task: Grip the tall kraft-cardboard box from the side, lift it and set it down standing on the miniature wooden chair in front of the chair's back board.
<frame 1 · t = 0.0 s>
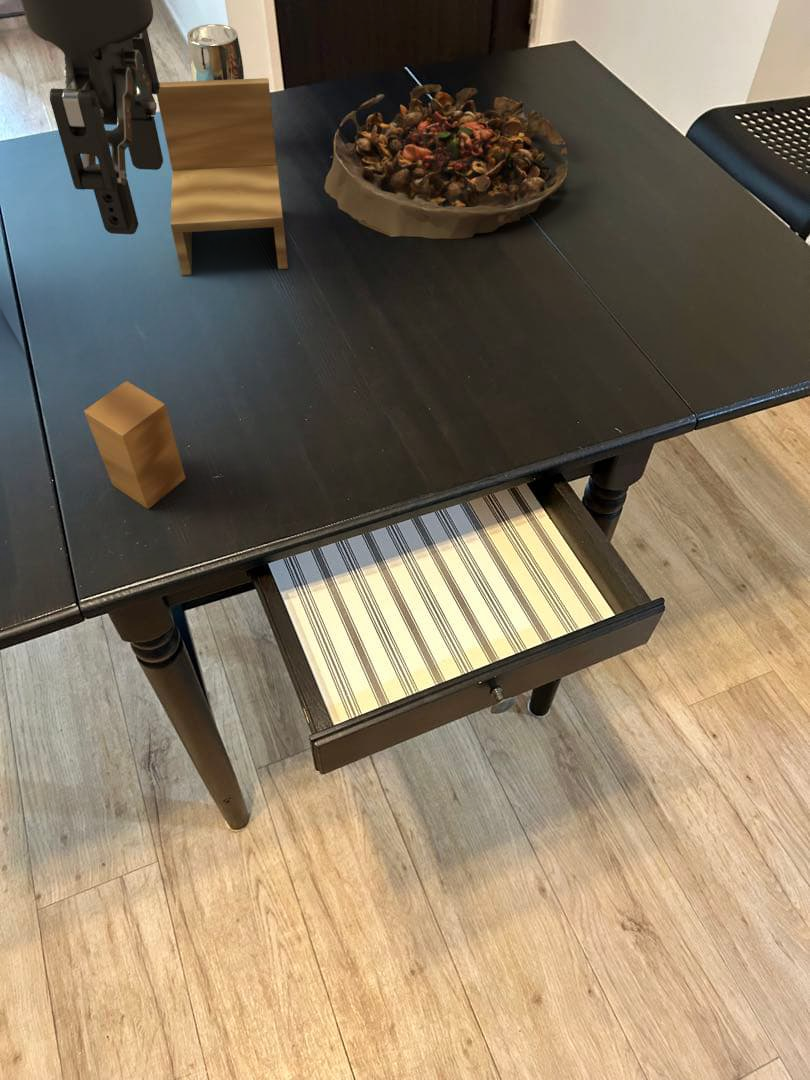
hand: (136, 198, 60), 28 cm above the table, tool pointing down, fingers open, 8 cm apart
silver metal cylinder: (228, 148, 120), on the table
kraft box: (149, 481, 81), on the table
miniature wooden chair: (233, 242, 106), on the table
food dish: (444, 174, 117), on the table
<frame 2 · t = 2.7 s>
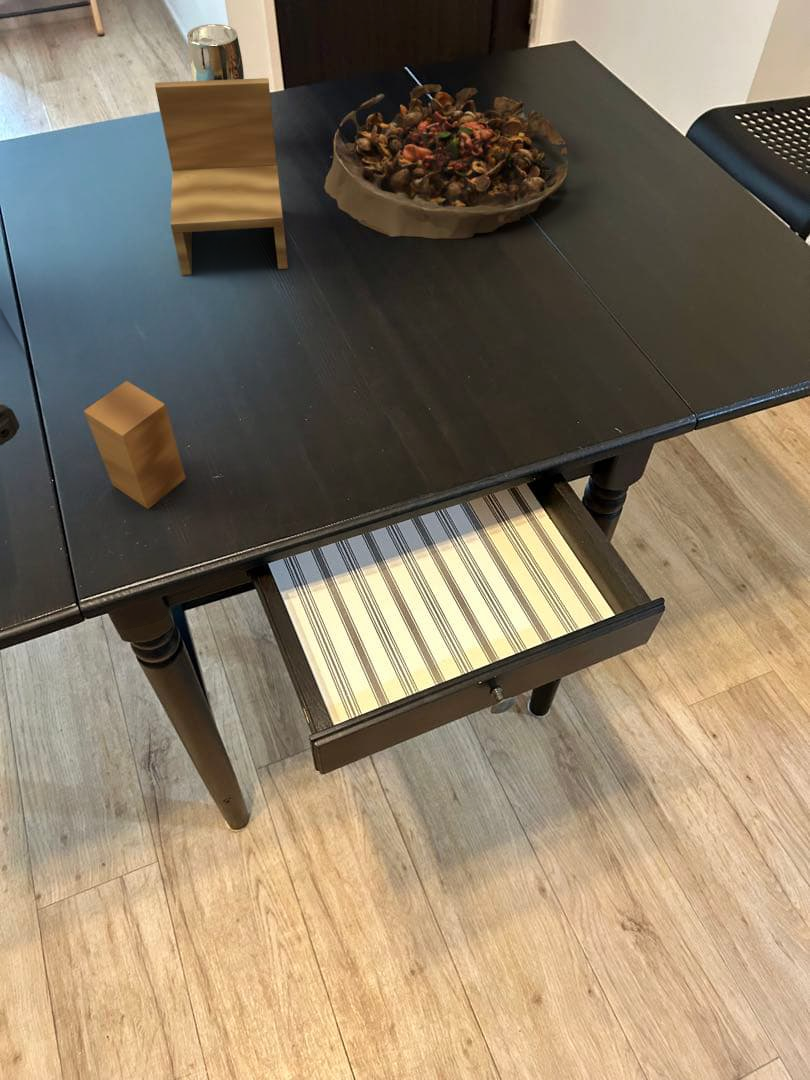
nothing on the table moved.
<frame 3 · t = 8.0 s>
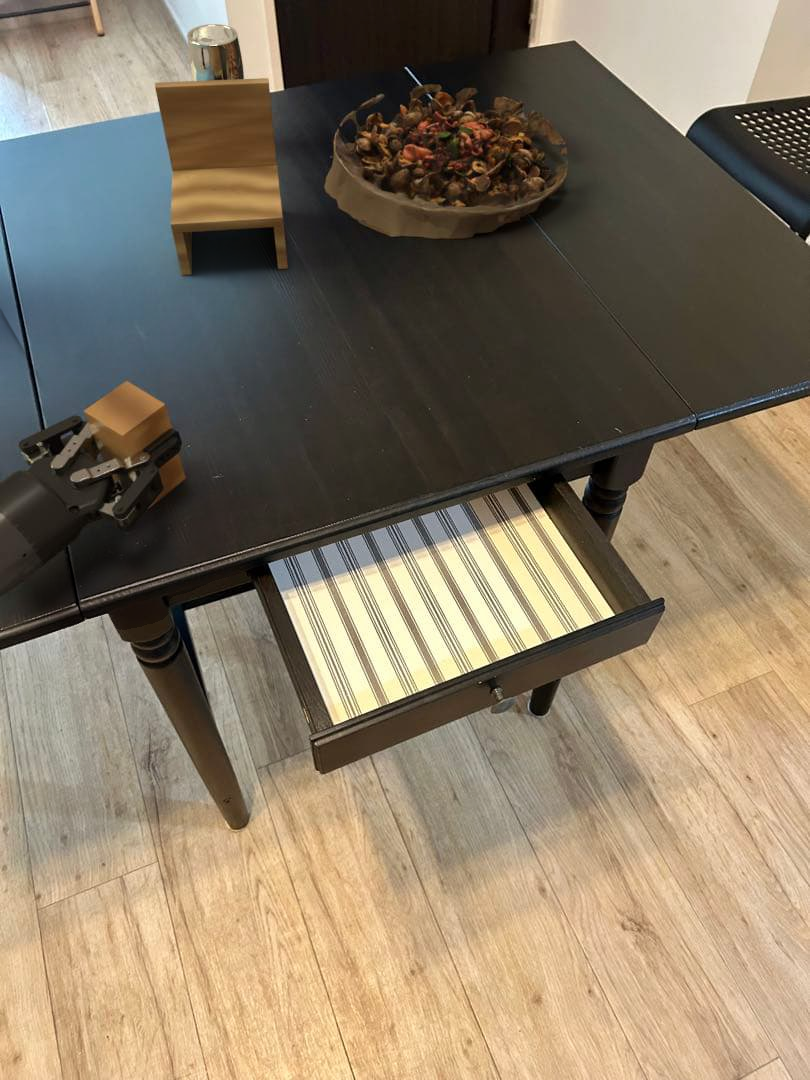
hand: (155, 423, 77), 6 cm above the table, tool horizontal, fingers closed on kraft box, 5 cm apart
kraft box: (149, 481, 81), on the table, touching gripper
everything else where it was.
when the fingers open (13 cm above the table, at t = 18.1 s): kraft box stays where it is, resting on miniature wooden chair.
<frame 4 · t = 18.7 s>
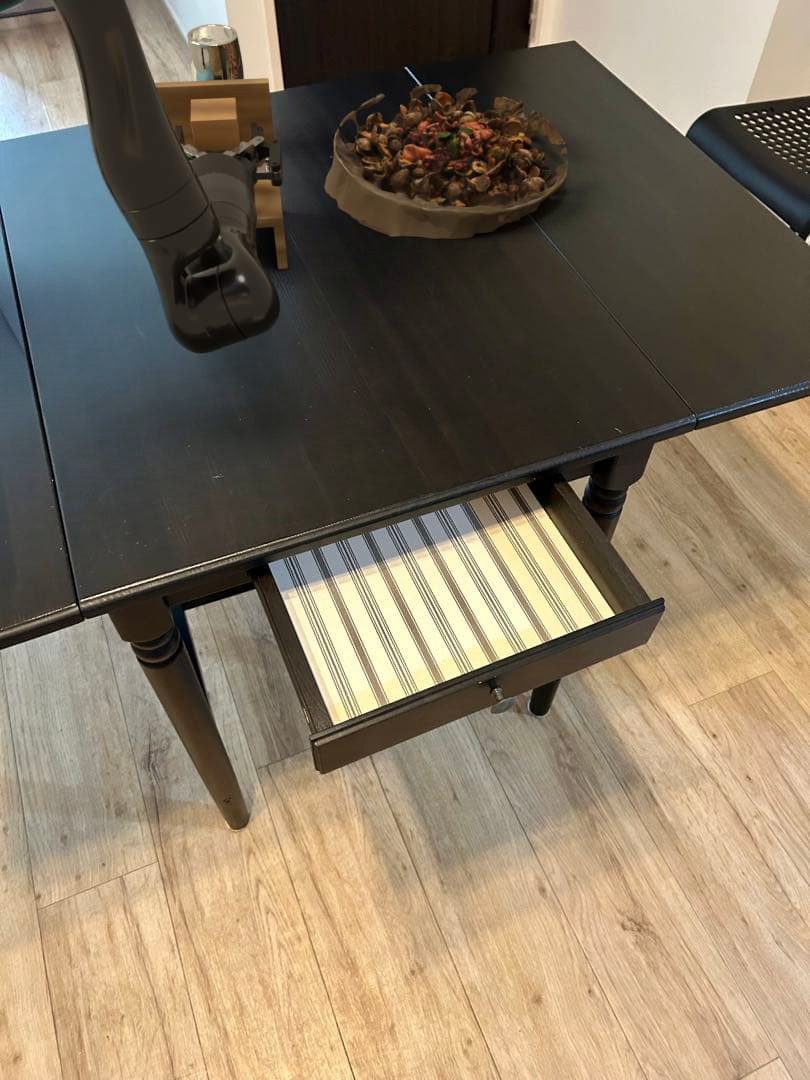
hand: (217, 131, 96), 13 cm above the table, tool horizontal, fingers open, 8 cm apart
kraft box: (226, 193, 100), point 7 cm above the table, touching miniature wooden chair
everything else where it was.
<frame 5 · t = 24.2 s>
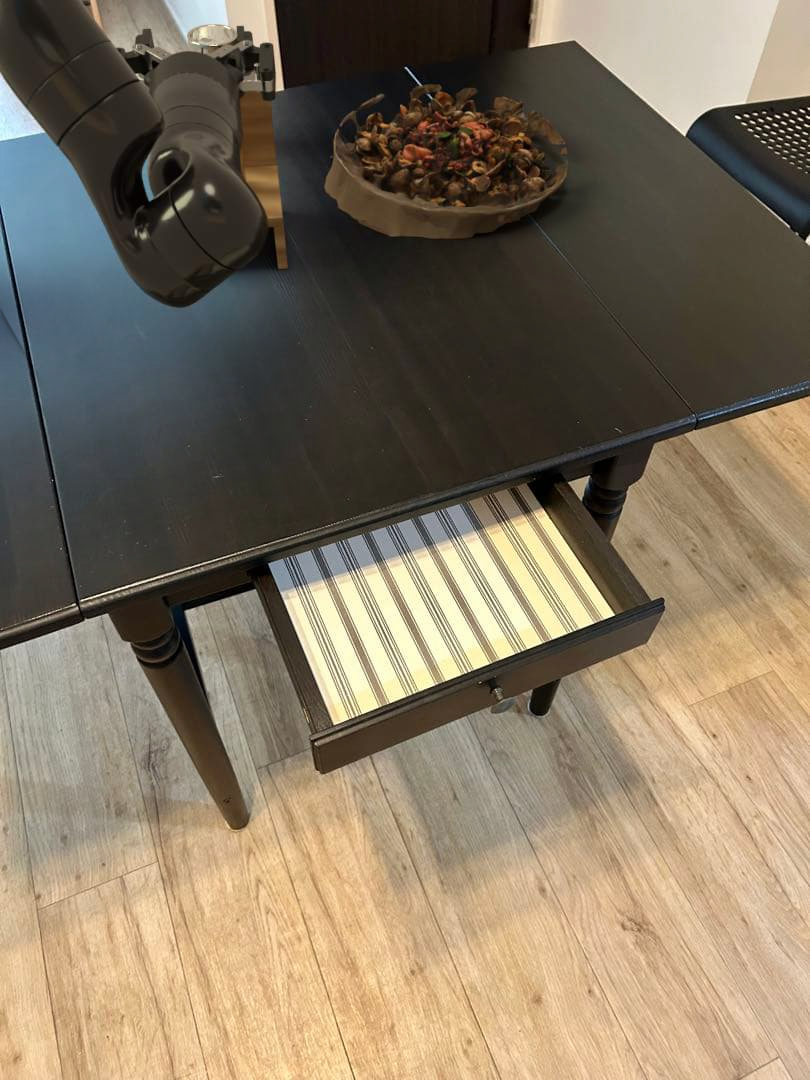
hand: (195, 38, 77), 28 cm above the table, tool horizontal, fingers open, 8 cm apart
nothing on the table moved.
at the end: kraft box inside the target area on the miniature wooden chair (0.5 cm from its centre), point 7.0 cm above the miniature wooden chair's base; kraft box tilted 0°; the gripper is holding nothing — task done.
